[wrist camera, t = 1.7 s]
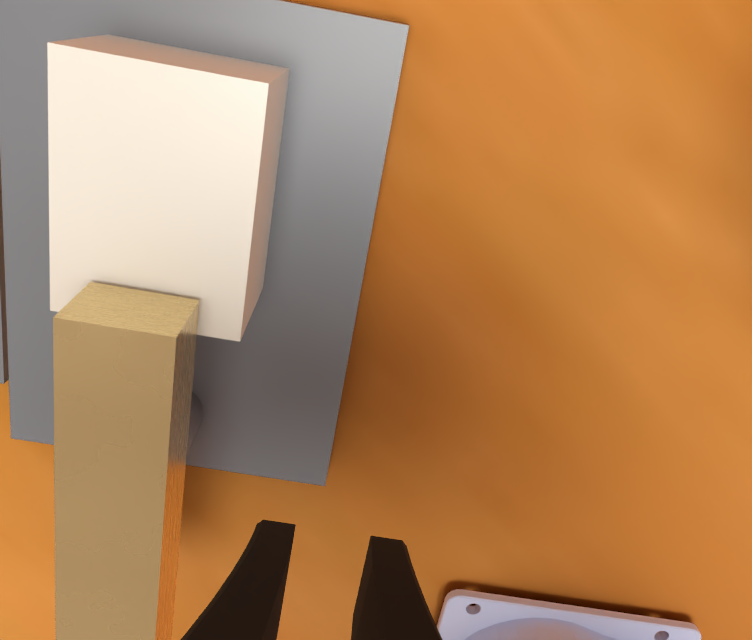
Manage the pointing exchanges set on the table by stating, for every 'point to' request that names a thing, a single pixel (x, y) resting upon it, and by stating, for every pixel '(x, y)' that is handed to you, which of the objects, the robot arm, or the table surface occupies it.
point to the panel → (287, 231)
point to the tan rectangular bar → (120, 459)
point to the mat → (2, 304)
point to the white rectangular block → (162, 173)
